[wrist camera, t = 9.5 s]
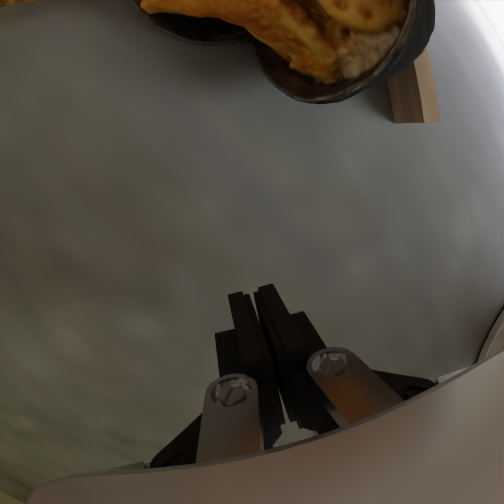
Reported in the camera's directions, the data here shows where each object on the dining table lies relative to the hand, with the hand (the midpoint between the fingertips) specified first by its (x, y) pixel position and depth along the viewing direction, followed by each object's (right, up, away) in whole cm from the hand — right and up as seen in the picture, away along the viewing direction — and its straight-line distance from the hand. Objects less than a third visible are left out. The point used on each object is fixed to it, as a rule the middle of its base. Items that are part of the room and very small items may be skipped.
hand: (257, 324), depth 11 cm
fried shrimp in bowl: (-2, +14, 0) cm, 14 cm away
